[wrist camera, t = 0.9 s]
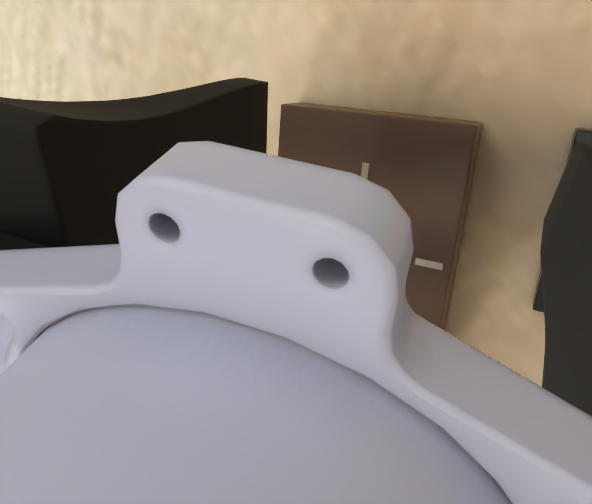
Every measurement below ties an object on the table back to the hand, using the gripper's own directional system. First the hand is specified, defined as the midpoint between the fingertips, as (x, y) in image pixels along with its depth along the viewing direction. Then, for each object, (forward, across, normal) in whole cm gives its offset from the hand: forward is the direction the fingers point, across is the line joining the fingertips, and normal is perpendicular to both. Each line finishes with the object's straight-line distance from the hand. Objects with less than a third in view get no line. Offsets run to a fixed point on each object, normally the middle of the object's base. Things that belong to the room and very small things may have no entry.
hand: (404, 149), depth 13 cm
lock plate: (+13, +2, +12) cm, 18 cm away
